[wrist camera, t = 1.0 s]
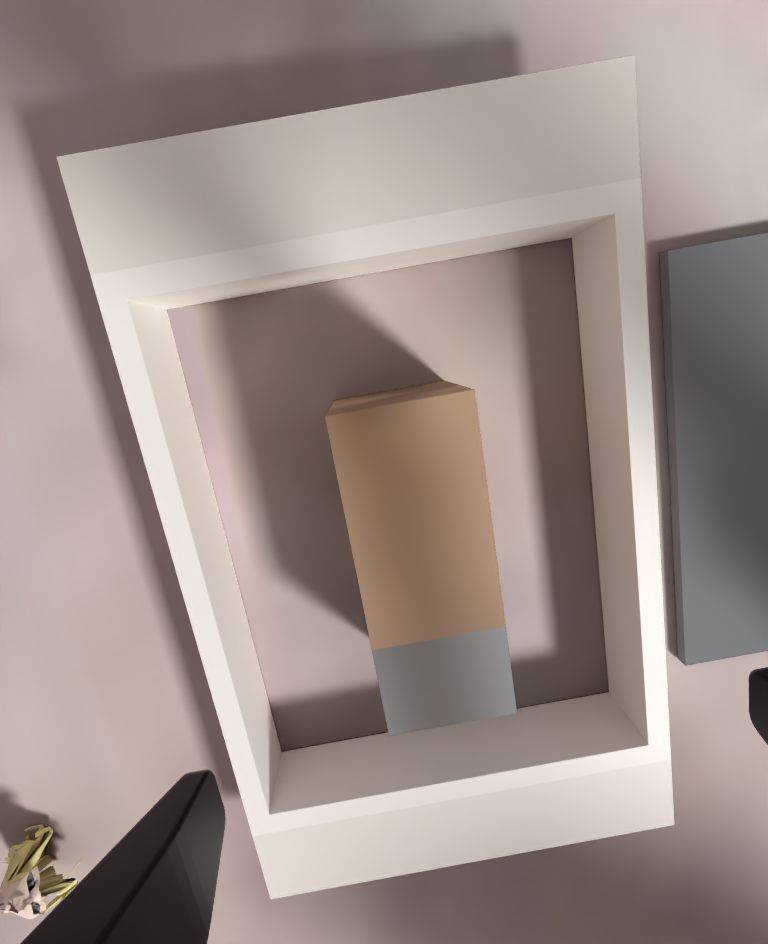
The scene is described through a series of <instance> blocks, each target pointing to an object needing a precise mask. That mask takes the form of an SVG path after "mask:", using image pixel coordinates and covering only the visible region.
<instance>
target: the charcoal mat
mask: <svg viewBox="0 0 768 944" xmlns="http://www.w3.org/2000/svg"><path fill="white" fill-rule="evenodd" d="M660 274H661V296H662V318H663V340H664V362H665V384H666V406H667V428H668V450H669V472H670V494H671V516H672V538H673V560H674V582H675V604H676V626H677V648H678V659H679V660H680V661H681V662H682V663H683V664H684V665H685V666H687V665H692V664H698V663H703V662H709V661H714V660H719V659H725V658H730V657H736V656H741V655H747V654H752V653H758V652H763V651H768V233H763V234H757V235H752V236H746V237H741V238H735V239H729V240H724V241H718V242H712V243H707V244H701V245H696V246H690V247H684V248H679V249H673V250H668V251H665V252H662V253H660Z"/></svg>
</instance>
